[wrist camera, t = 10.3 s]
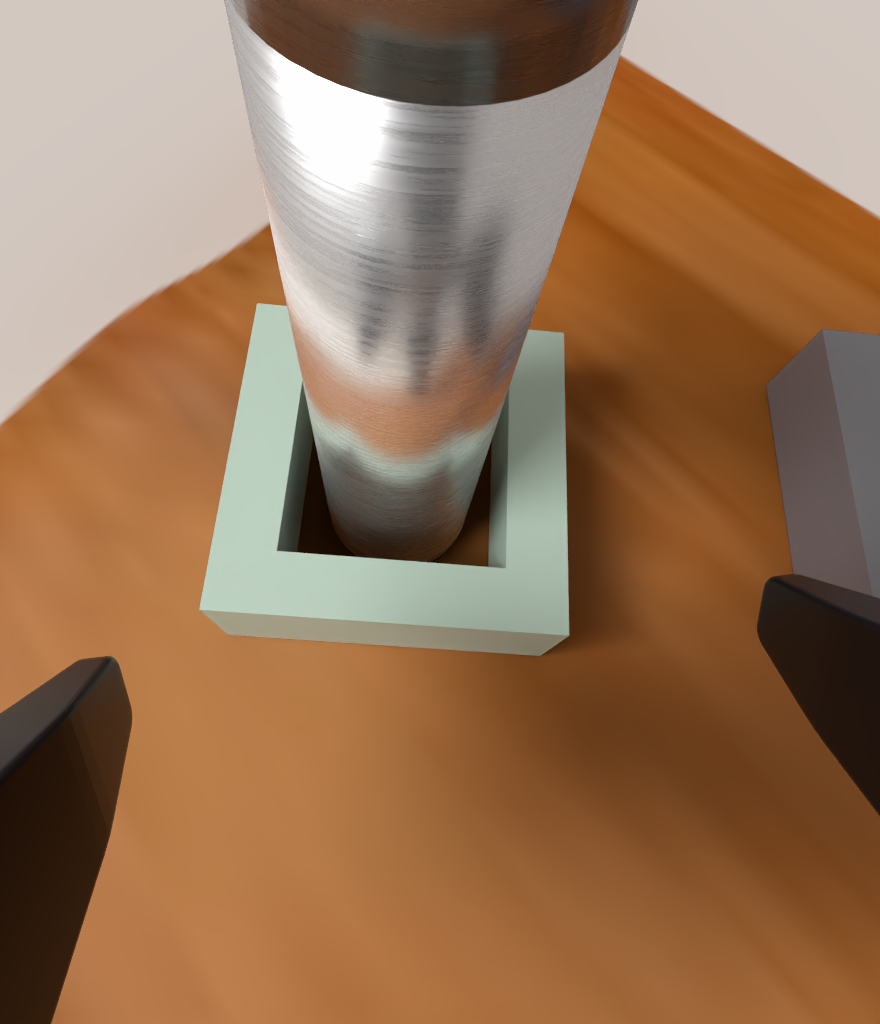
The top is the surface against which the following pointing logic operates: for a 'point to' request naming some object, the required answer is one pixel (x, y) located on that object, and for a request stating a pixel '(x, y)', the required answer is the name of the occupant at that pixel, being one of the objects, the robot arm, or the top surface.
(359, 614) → the sage socket
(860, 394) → the charcoal socket
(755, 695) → the top surface
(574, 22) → the steel peg
